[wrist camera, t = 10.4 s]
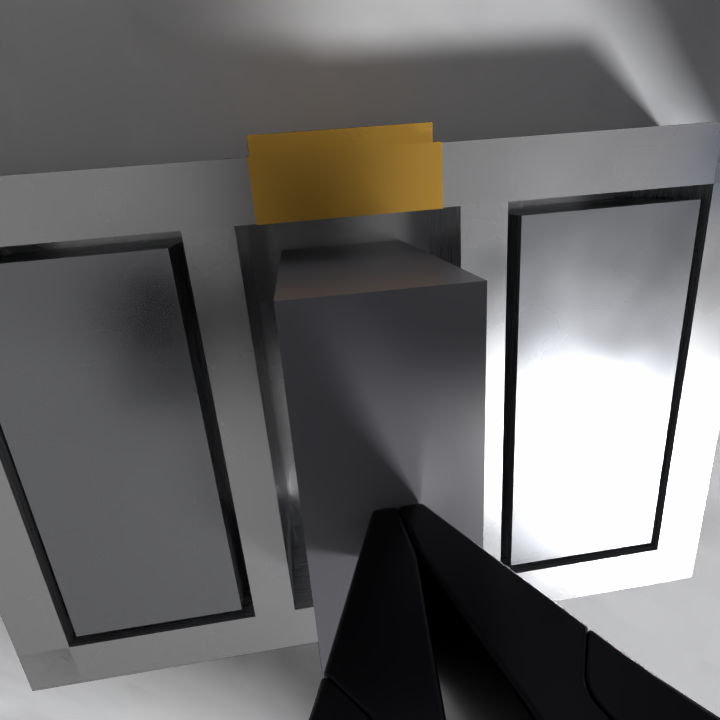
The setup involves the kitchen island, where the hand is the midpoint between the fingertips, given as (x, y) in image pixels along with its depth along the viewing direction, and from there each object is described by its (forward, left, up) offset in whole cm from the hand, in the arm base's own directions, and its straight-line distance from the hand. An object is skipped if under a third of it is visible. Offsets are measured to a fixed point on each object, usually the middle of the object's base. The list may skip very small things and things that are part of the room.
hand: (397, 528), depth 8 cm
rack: (0, 0, -7) cm, 7 cm away
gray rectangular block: (0, 0, -6) cm, 6 cm away
